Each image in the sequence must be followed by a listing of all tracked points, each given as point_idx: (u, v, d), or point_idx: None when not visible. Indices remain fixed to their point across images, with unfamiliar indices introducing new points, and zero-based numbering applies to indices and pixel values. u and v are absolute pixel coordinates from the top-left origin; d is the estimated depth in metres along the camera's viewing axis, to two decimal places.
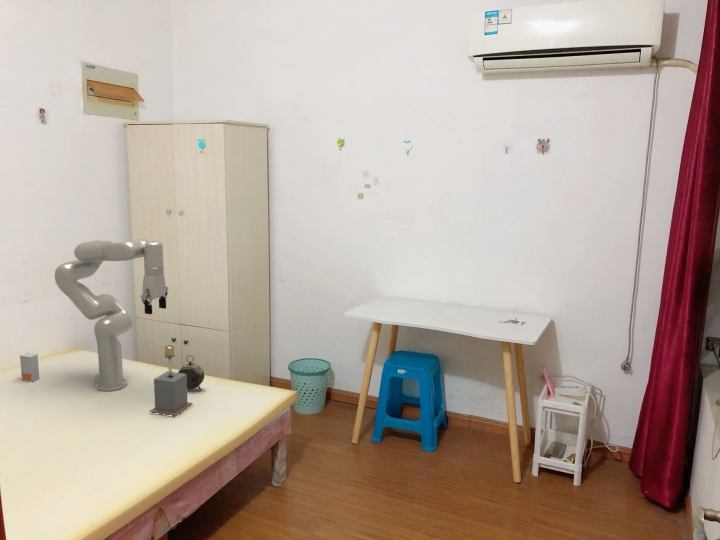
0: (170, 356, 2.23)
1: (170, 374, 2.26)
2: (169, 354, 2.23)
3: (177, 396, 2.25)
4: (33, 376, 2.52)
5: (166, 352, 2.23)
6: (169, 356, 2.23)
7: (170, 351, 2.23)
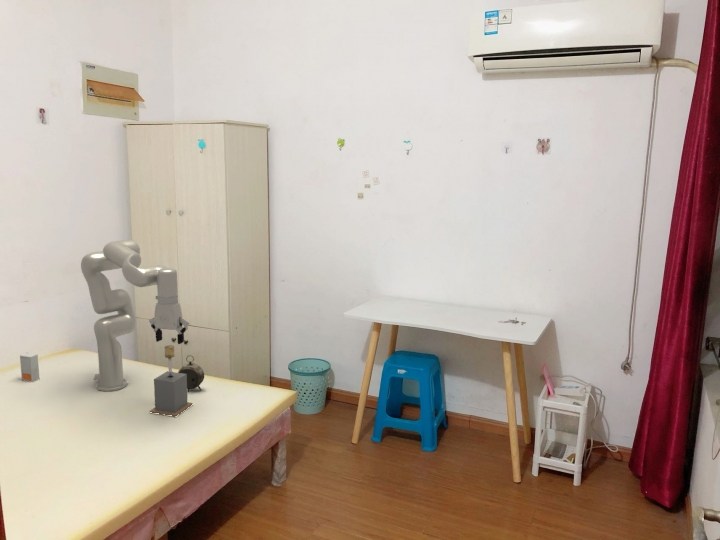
0: (170, 356, 2.23)
1: (170, 374, 2.26)
2: (169, 354, 2.23)
3: (177, 396, 2.25)
4: (33, 376, 2.52)
5: (166, 352, 2.23)
6: (169, 356, 2.23)
7: (170, 351, 2.23)
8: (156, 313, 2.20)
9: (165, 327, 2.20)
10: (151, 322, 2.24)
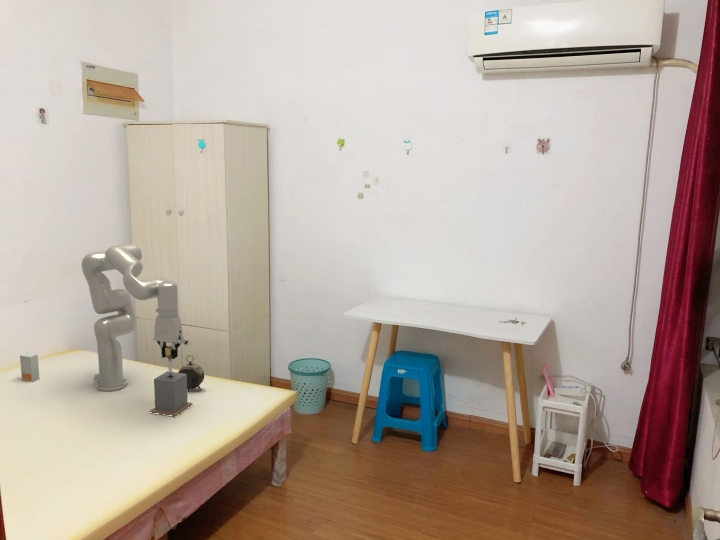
0: (170, 356, 2.23)
1: (170, 374, 2.26)
2: (169, 354, 2.23)
3: (177, 396, 2.25)
4: (33, 376, 2.52)
5: (166, 352, 2.23)
6: (169, 356, 2.23)
7: (170, 351, 2.23)
8: (156, 326, 2.21)
9: (165, 340, 2.21)
10: (156, 339, 2.25)
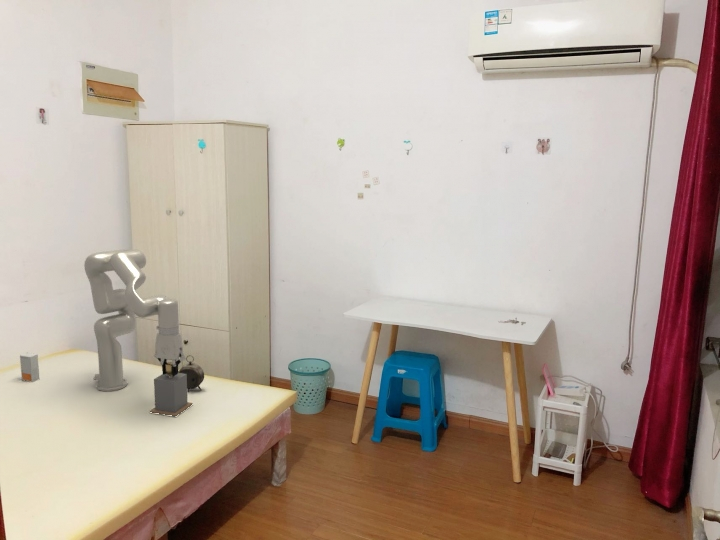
0: (171, 373, 2.25)
1: None
2: (170, 371, 2.25)
3: (177, 396, 2.25)
4: (33, 376, 2.52)
5: (167, 369, 2.24)
6: (170, 373, 2.25)
7: (171, 368, 2.24)
8: (157, 343, 2.22)
9: (166, 357, 2.22)
10: (156, 356, 2.26)
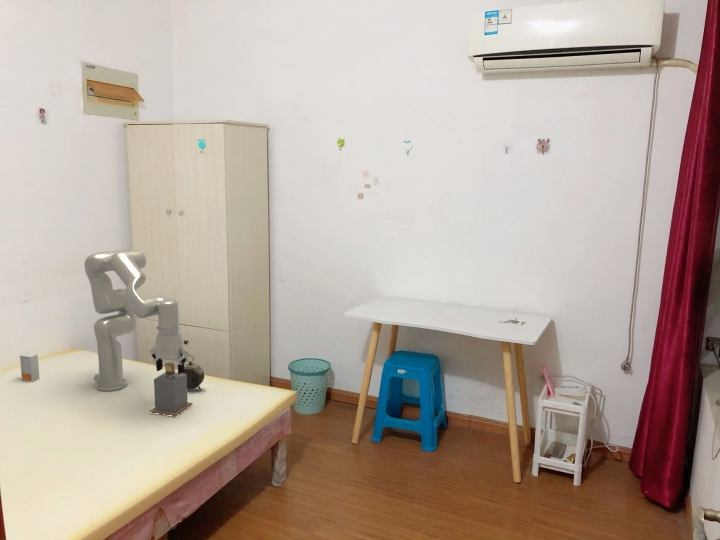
0: (171, 373, 2.25)
1: None
2: (170, 371, 2.25)
3: (177, 396, 2.25)
4: (33, 376, 2.52)
5: (167, 369, 2.24)
6: (170, 373, 2.25)
7: (171, 368, 2.24)
8: (157, 344, 2.22)
9: (166, 357, 2.22)
10: (152, 352, 2.26)
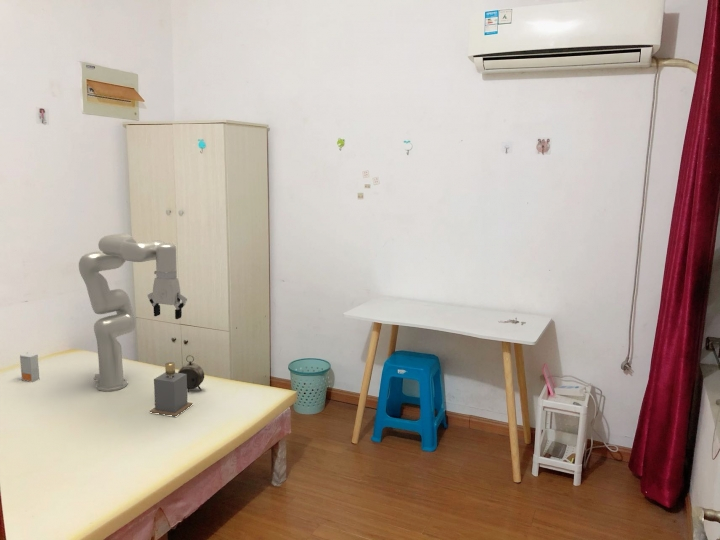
0: (171, 373, 2.25)
1: None
2: (170, 371, 2.25)
3: (177, 396, 2.25)
4: (33, 376, 2.52)
5: (167, 369, 2.24)
6: (170, 373, 2.25)
7: (171, 368, 2.24)
8: (154, 288, 2.21)
9: (163, 302, 2.21)
10: (149, 297, 2.25)
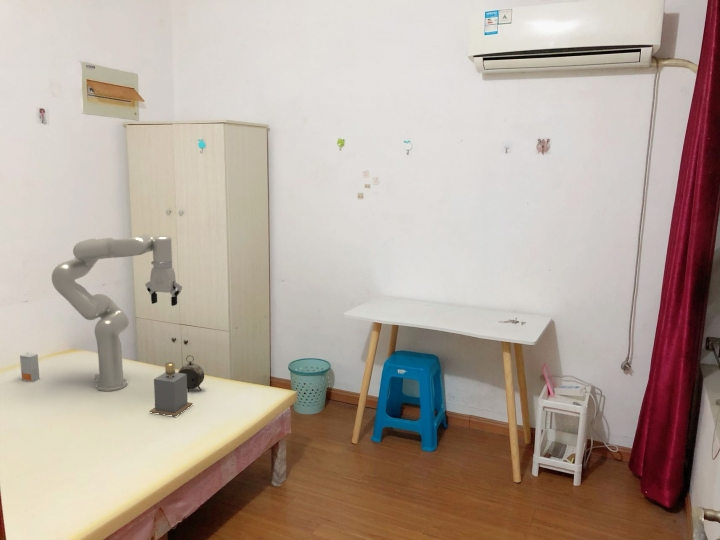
0: (171, 373, 2.25)
1: None
2: (170, 371, 2.25)
3: (177, 396, 2.25)
4: (33, 376, 2.52)
5: (167, 369, 2.24)
6: (170, 373, 2.25)
7: (171, 368, 2.24)
8: (152, 277, 2.39)
9: (160, 290, 2.39)
10: (147, 286, 2.43)
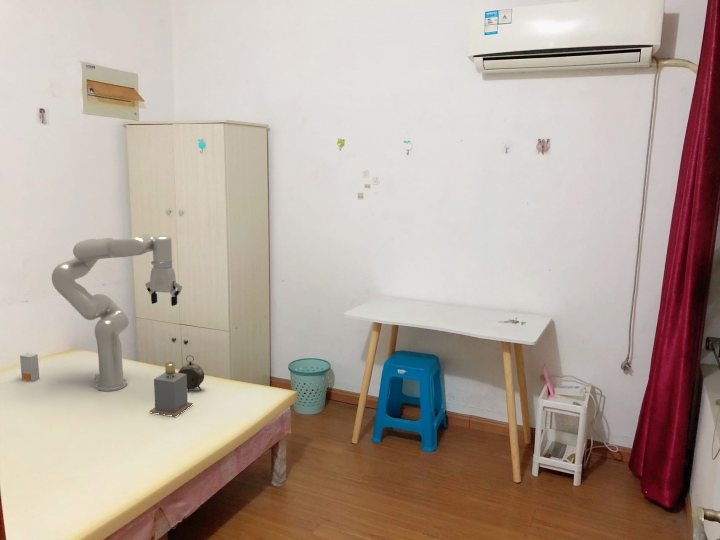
0: (171, 373, 2.25)
1: None
2: (170, 371, 2.25)
3: (177, 396, 2.25)
4: (33, 376, 2.52)
5: (167, 369, 2.24)
6: (170, 373, 2.25)
7: (171, 368, 2.24)
8: (152, 277, 2.39)
9: (160, 290, 2.39)
10: (147, 286, 2.43)
